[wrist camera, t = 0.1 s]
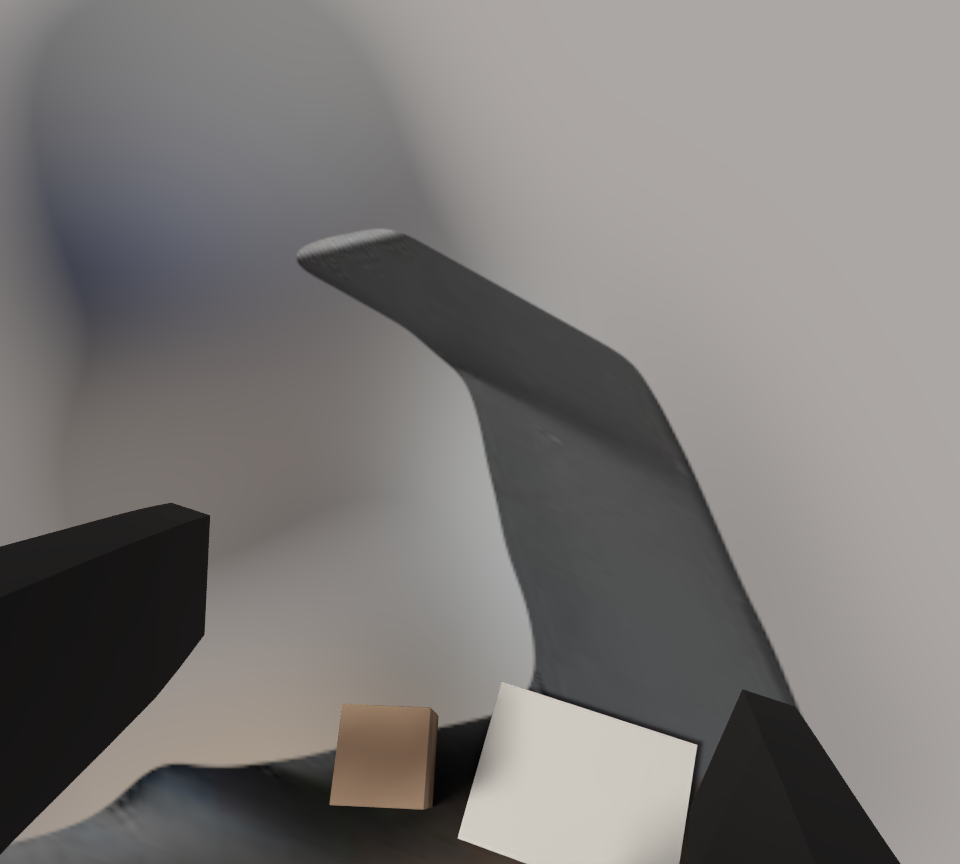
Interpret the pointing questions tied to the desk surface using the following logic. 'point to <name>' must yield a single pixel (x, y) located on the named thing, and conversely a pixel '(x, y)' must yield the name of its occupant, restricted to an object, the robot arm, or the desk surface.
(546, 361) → the desk surface
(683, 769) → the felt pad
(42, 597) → the robot arm
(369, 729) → the walnut cube
